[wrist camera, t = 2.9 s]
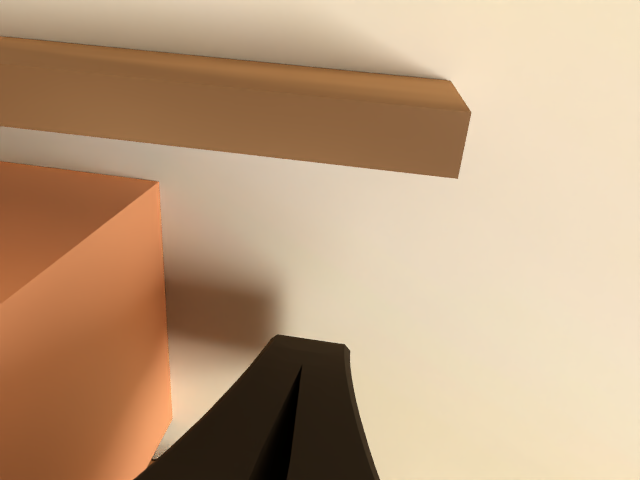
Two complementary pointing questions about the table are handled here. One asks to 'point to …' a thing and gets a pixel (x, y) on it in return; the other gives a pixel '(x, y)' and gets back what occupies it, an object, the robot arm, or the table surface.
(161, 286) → the block
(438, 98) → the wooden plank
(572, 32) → the table surface
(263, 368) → the robot arm
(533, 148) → the table surface
